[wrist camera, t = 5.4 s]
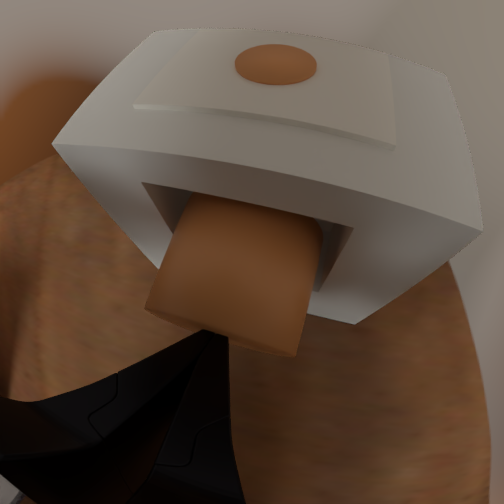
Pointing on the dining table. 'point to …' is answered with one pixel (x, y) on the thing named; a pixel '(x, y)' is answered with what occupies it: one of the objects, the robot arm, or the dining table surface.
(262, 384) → the dining table surface
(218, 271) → the button
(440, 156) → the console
